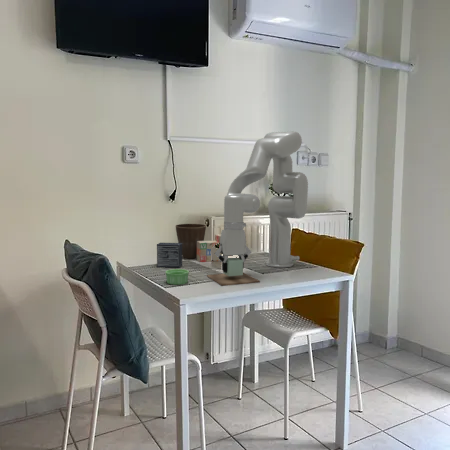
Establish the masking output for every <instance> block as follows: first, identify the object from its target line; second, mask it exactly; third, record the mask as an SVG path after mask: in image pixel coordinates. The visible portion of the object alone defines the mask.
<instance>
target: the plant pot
mask: <svg viewBox="0 0 450 450" xmlns="http://www.w3.org/2000/svg"><path fill="white" fill-rule="evenodd" d="M206 230H207V224H201V223H180V224H176V225H175V231H176V236H177V237H176V238H177V243H182V259H186V260H195V259H196V260H197V241H205V240H204V239H205V236H206Z"/></svg>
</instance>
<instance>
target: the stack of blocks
mask: <svg viewBox="0 0 450 450" xmlns="http://www.w3.org/2000/svg"><path fill="white" fill-rule="evenodd" d="M220 237H221V233H220V234H219V233H218V234H214V240H204V241H197V258H196V261H198V262H199V263H205V262H206V263H209V262H210V263H211V248H212V247H213V246H214V245H216V244H218V243H220Z"/></svg>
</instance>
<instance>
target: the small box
mask: <svg viewBox="0 0 450 450" xmlns="http://www.w3.org/2000/svg"><path fill="white" fill-rule="evenodd" d="M182 266H183V255H182V243H178V242H158V243H157V244H156V268H160V267H165V268H166V269H168V268H169V269H181V267H182ZM165 268H164V269H165Z"/></svg>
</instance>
